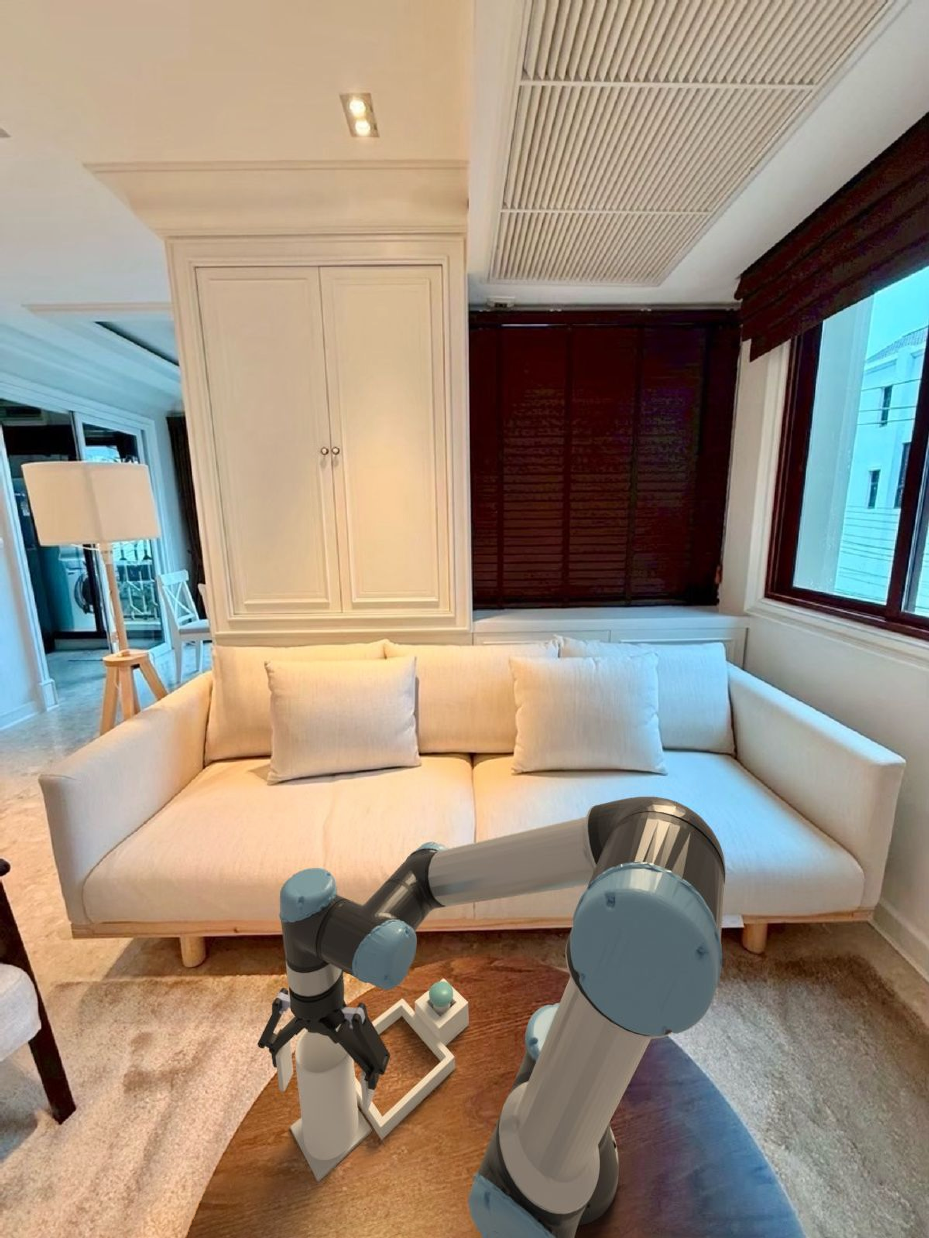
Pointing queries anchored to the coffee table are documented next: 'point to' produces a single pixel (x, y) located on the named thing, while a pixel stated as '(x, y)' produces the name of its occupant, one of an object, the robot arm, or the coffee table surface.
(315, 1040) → the cup
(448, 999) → the mint mushroom button
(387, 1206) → the coffee table surface
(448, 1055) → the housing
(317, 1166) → the pad
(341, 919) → the robot arm
